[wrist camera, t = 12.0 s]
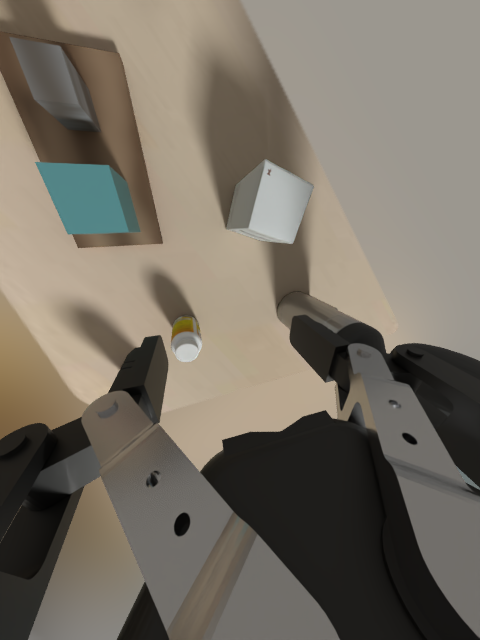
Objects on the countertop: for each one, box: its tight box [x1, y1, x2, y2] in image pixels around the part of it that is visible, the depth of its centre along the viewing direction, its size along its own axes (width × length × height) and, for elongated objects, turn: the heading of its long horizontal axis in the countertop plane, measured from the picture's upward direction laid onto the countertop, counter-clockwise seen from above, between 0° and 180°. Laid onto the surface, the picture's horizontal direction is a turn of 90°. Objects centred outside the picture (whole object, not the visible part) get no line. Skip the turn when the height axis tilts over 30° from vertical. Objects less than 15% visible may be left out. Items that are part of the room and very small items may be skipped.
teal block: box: [35, 162, 141, 234], centre depth 22 cm, size 6×6×7 cm
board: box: [0, 32, 163, 248], centre depth 21 cm, size 12×20×7 cm, turn 2°
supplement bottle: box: [171, 316, 202, 362], centre depth 34 cm, size 6×6×10 cm
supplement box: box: [226, 159, 314, 244], centre depth 27 cm, size 7×7×13 cm
